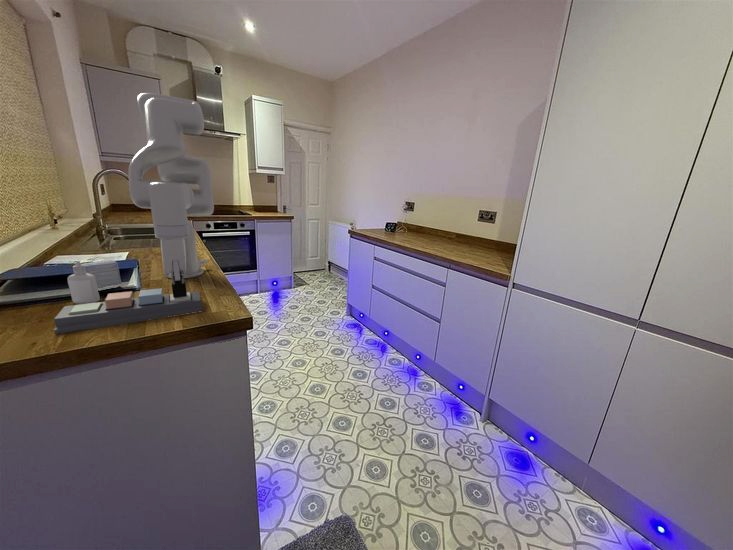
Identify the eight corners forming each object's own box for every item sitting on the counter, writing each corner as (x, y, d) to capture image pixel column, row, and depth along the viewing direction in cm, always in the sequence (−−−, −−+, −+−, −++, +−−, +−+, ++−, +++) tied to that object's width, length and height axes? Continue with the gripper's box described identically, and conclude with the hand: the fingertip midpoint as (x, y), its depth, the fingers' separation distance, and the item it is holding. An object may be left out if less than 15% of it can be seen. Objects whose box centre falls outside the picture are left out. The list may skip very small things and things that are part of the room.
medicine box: (116, 284, 95) (111, 259, 93) (122, 287, 93) (117, 261, 91) (84, 290, 89) (78, 263, 86) (90, 294, 87) (84, 266, 84)
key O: (133, 299, 77) (132, 291, 77) (131, 306, 73) (129, 297, 73) (110, 302, 75) (108, 293, 74) (106, 309, 71) (104, 300, 70)
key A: (190, 299, 85) (189, 292, 84) (191, 305, 81) (190, 297, 80) (171, 302, 82) (170, 294, 82) (171, 308, 78) (169, 300, 78)
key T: (163, 296, 81) (161, 288, 80) (162, 302, 77) (161, 294, 76) (141, 298, 78) (140, 290, 77) (139, 305, 74) (138, 296, 74)
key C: (103, 310, 74) (101, 302, 74) (99, 317, 71) (97, 309, 70) (77, 313, 72) (75, 304, 71) (72, 321, 68) (69, 312, 67)
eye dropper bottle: (84, 306, 79) (74, 264, 75) (70, 302, 80) (60, 261, 76) (102, 300, 83) (94, 260, 79) (88, 297, 84) (79, 257, 81)
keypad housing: (199, 298, 89) (198, 289, 88) (202, 312, 80) (201, 302, 79) (69, 314, 73) (66, 303, 73) (55, 333, 65) (51, 321, 64)
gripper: (155, 227, 79) (164, 289, 85) (152, 236, 68) (163, 308, 73) (187, 227, 83) (194, 286, 89) (189, 235, 72) (197, 303, 77)
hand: (180, 296), depth 81 cm, fingers closed
